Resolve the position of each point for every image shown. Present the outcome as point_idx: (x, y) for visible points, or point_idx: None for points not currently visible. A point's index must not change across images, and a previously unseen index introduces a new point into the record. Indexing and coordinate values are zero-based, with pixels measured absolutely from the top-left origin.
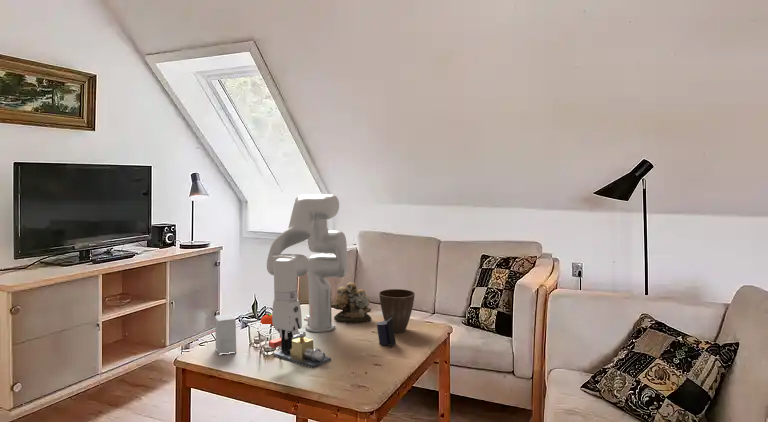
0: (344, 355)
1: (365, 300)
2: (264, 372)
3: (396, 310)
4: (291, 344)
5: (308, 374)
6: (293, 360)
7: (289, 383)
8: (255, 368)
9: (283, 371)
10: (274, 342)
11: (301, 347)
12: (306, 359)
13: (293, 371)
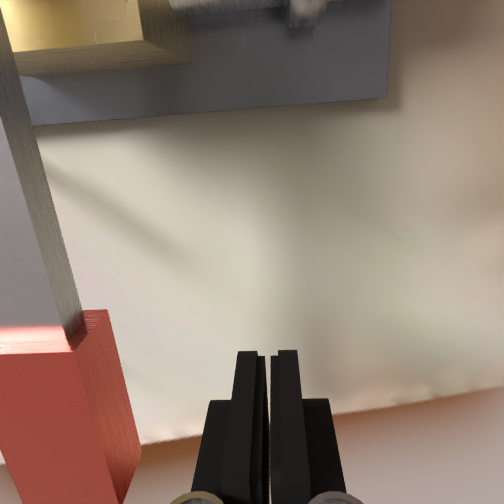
0: None
1: None
2: (168, 366)
3: None
4: (331, 418)
5: (437, 212)
6: (133, 117)
7: (430, 378)
8: None
9: (245, 288)
10: (111, 500)
11: (147, 47)
12: (221, 31)
13: (300, 245)
